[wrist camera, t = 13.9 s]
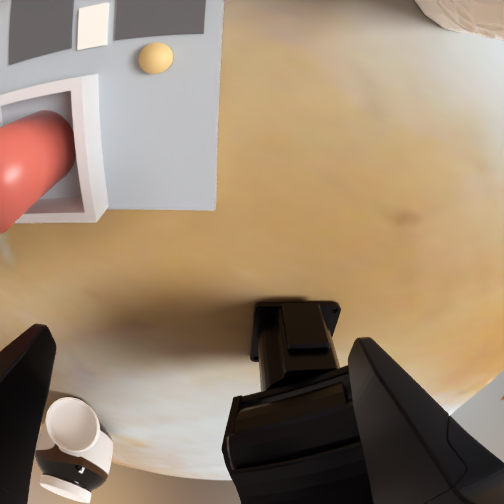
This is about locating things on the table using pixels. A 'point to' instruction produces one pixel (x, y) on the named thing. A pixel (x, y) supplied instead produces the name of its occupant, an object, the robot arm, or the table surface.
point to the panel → (119, 99)
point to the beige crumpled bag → (467, 16)
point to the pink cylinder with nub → (32, 161)
